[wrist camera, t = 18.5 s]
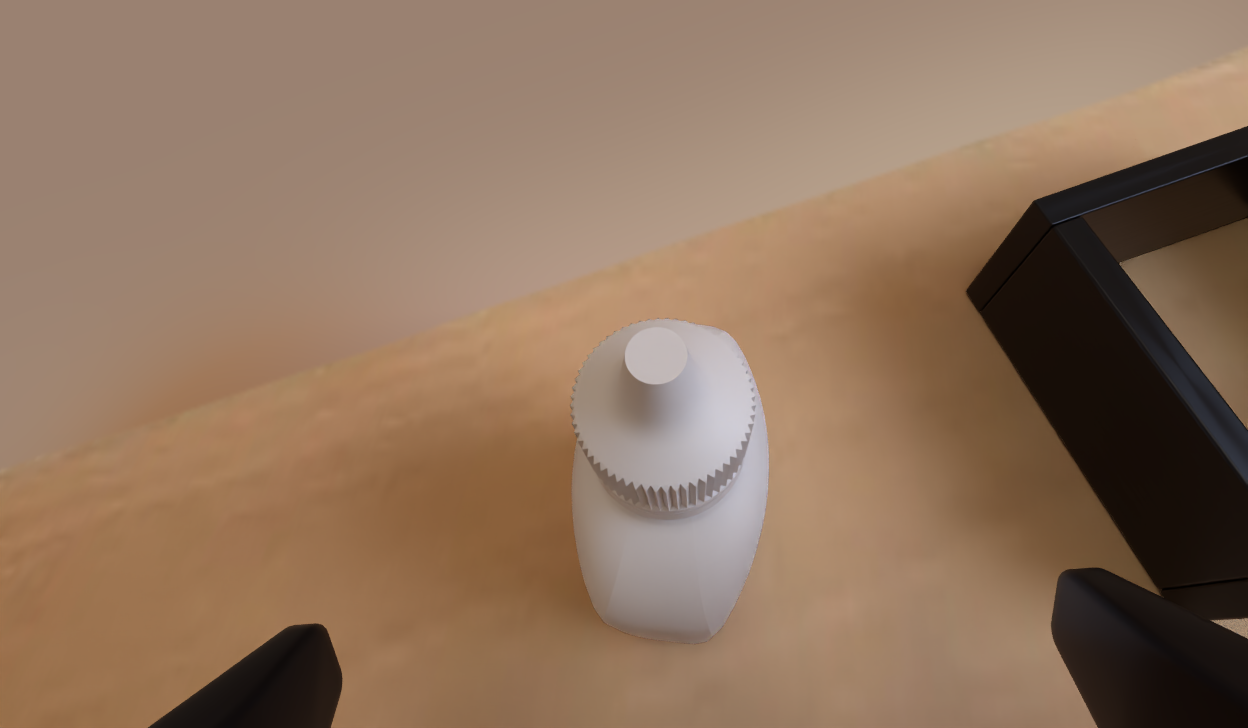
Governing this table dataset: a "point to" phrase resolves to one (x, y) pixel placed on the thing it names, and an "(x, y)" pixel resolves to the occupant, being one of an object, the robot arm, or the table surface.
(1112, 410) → the holder
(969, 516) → the table surface
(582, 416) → the eye dropper bottle
